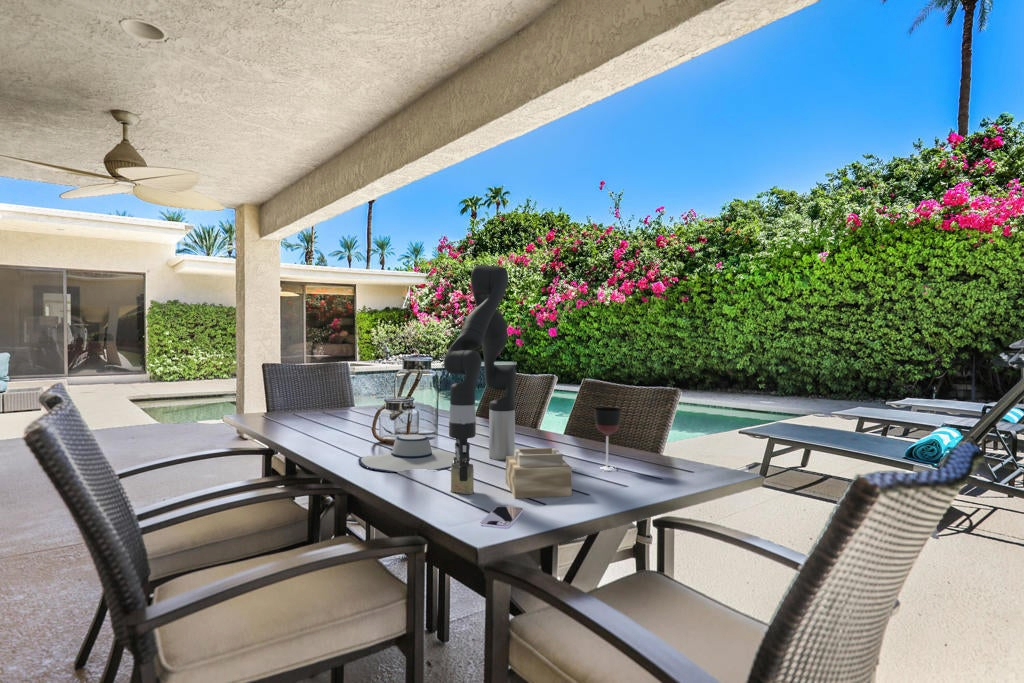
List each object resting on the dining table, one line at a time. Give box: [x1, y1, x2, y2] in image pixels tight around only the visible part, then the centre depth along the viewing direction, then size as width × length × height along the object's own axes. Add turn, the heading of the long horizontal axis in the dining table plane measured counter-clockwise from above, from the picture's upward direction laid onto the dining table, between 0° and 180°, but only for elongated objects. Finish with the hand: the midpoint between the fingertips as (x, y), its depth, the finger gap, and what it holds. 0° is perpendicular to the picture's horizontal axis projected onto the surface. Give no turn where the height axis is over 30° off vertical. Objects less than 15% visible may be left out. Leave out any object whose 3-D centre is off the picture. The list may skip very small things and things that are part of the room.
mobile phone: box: [478, 505, 525, 529], centre depth 145 cm, size 8×1×15 cm
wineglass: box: [593, 406, 622, 470], centre depth 194 cm, size 8×9×20 cm
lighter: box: [450, 457, 475, 495], centre depth 166 cm, size 7×4×10 cm, turn 62°
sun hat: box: [357, 433, 456, 473], centre depth 205 cm, size 36×36×9 cm
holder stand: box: [505, 447, 573, 499], centre depth 170 cm, size 16×16×11 cm
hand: (462, 477), depth 166 cm, fingers open, 8 cm apart
